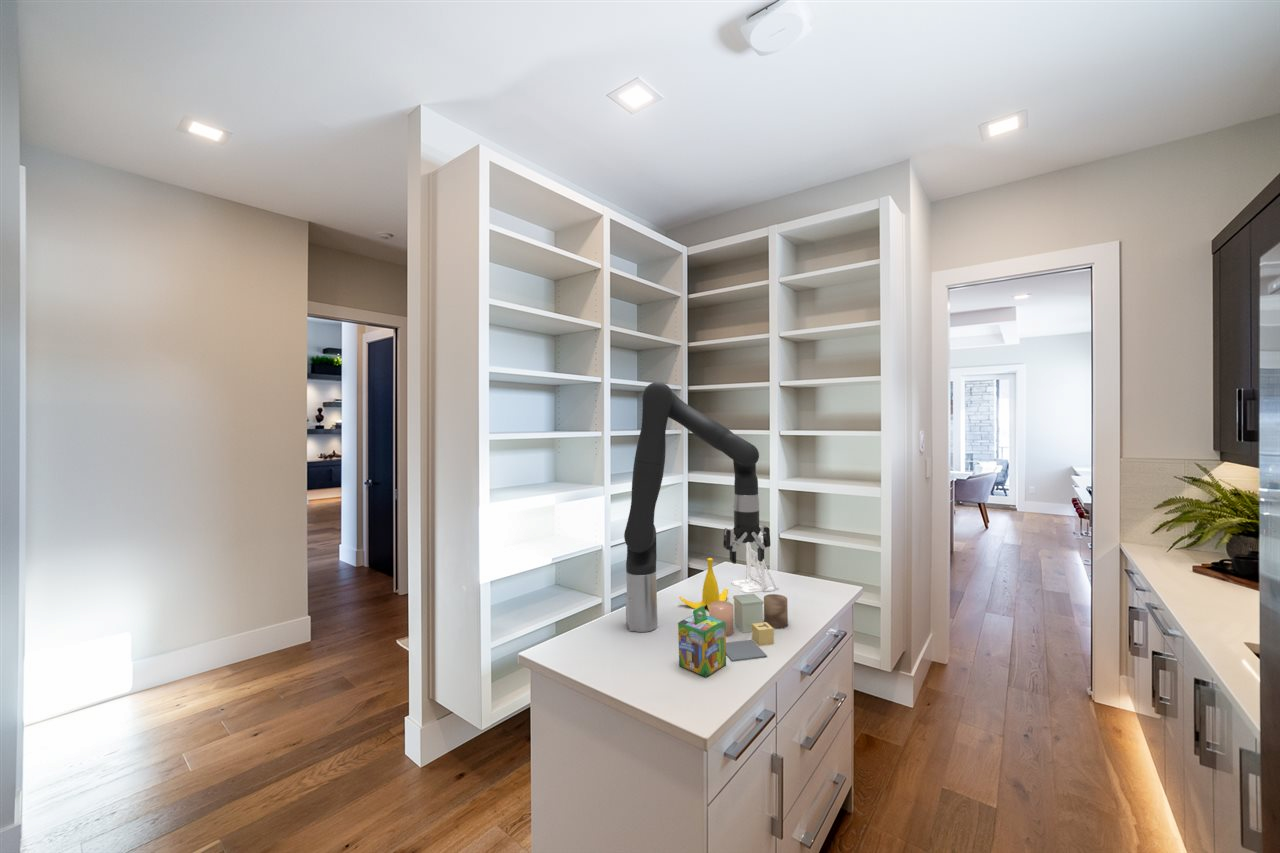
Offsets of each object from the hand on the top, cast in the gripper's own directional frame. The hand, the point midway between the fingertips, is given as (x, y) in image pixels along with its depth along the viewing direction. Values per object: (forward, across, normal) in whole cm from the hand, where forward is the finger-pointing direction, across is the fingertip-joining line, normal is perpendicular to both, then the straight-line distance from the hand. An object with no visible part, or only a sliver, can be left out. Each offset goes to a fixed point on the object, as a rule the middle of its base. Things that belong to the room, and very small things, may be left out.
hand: (747, 561), depth 156 cm
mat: (+20, -8, -14) cm, 26 cm away
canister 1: (+20, -9, -1) cm, 22 cm away
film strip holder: (+20, +17, +34) cm, 43 cm away
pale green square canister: (+20, 0, 0) cm, 20 cm away
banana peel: (+20, -5, +16) cm, 26 cm away
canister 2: (+20, +9, 0) cm, 22 cm away
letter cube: (+20, 0, -10) cm, 22 cm away
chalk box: (+20, -21, -19) cm, 35 cm away
